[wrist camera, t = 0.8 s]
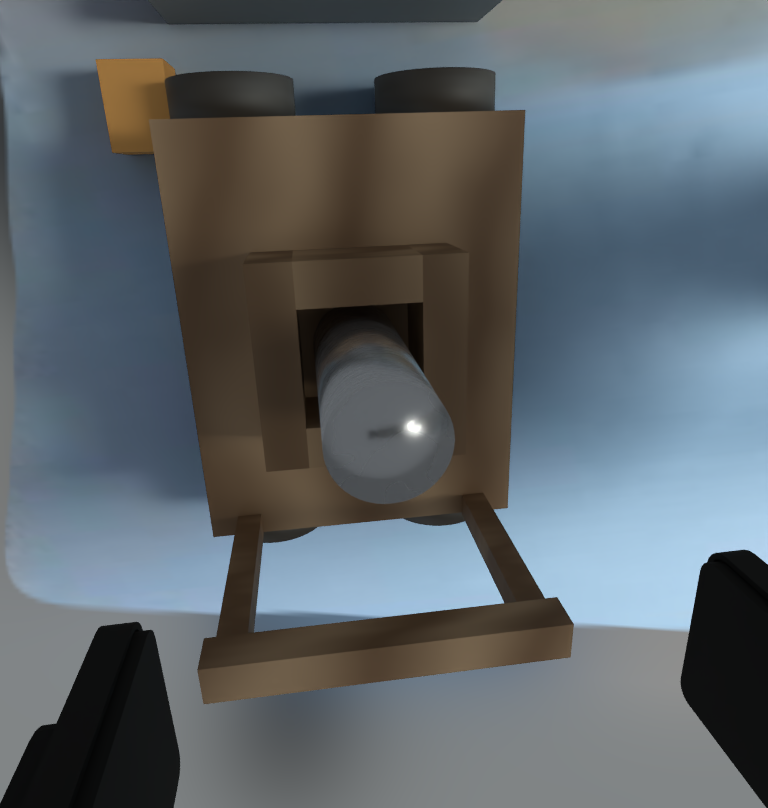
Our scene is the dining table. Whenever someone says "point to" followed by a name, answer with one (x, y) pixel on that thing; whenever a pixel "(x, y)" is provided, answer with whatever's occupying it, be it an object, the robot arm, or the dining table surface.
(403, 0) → the tray
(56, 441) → the dining table surface
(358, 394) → the pin
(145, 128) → the orange block
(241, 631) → the trolley
